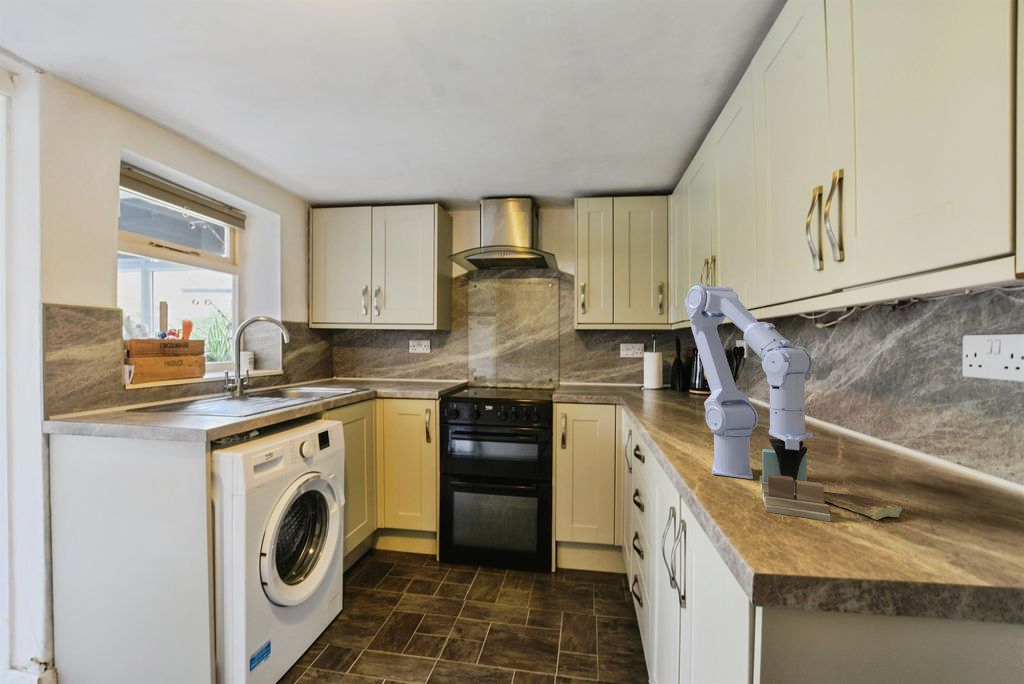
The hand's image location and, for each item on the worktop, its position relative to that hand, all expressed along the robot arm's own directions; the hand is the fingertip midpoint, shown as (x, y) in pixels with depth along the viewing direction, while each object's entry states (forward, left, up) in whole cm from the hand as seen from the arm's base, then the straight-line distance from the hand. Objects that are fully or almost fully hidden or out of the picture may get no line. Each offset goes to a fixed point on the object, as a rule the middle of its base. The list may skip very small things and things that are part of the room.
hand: (787, 478), depth 80 cm
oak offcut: (+9, +2, -2) cm, 9 cm away
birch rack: (+5, 0, -3) cm, 5 cm away
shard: (+5, +10, -3) cm, 11 cm away
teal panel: (0, -1, -2) cm, 2 cm away
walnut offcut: (+9, -2, -2) cm, 9 cm away
